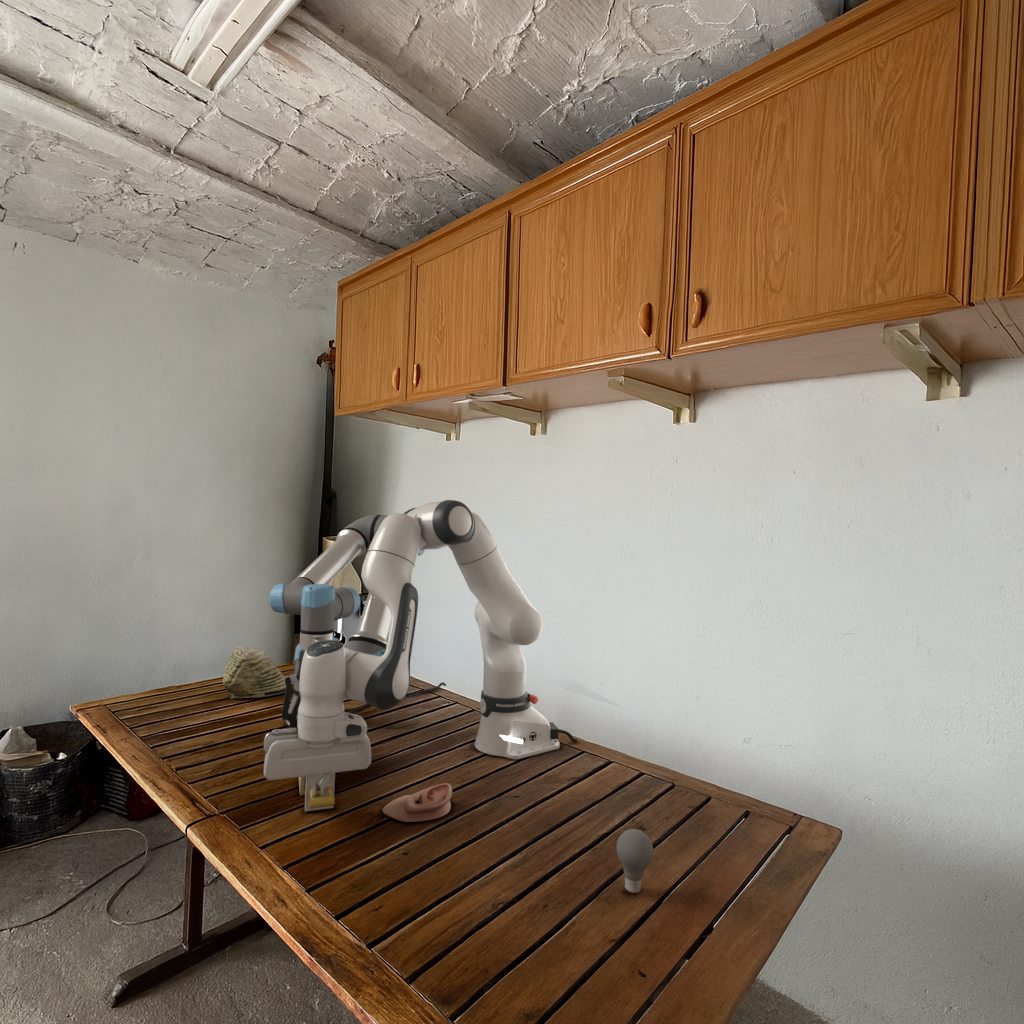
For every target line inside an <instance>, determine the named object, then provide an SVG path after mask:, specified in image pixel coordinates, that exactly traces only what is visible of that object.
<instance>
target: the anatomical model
mask: <svg viewBox="0 0 1024 1024" xmlns="http://www.w3.org/2000/svg"><path fill="white" fill-rule="evenodd" d="M452 795H453V788H452V785H451V784H450V783H447V782H445V783H444V782H443V783H440V784H436V785H433V786H429V787H426V788H424V789H422V790H419V791H417V792H415V793H411V794H405V795H402V796H399V797H397V798H395V799H393V800H391V801H390V802H388V803H387V804H386V805H384V806H383V808H382V813H383V814H384V815H386V816H387V817H389V818H392V819H394V820H396V821H400V822H402V823H415V822H425V821H430V820H431V821H432V820H436V819H438V818H442V817H444V816H445V815H447V814H448V813H449V812H450V811H451V808H452V803H451V799H452Z"/></svg>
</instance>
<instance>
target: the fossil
mask: <svg viewBox="0 0 1024 1024" xmlns="http://www.w3.org/2000/svg"><path fill="white" fill-rule="evenodd" d="M222 676H223V677H222V685H223V687H224V688H225V690H226V691H228V693H229V698H230V699H250V698H264V697H271V696H275V695H281V694H284V693H285V691H286V683H285V676H284V674H283V673H282V672H281V669H279V668H278V667H277V665H276V663H275V662H274V660H273V659H272V658H271V657H270V656H269V655H268V654H267V653H266V652H265V650H264V649H263V648H260V647H258V648H251V647H247V646H246V647H245V646H238V647H237V648H236V649H235V650H233V651H232V653H231V656H230V657H229V659H228V660H227V663H226V666H225V668H224V671H223V675H222Z"/></svg>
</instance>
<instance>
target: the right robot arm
mask: <svg viewBox="0 0 1024 1024" xmlns="http://www.w3.org/2000/svg"><path fill="white" fill-rule="evenodd" d="M446 547H448V548H449V549H450V550H451V552H452V555H453V557H454V559H455V562H456V564H457V566H458V568H459V570H460V572H461V575H462V576H463V579H464V581H465V583H466V585H467V587H468V589H469V591H470V593H472V595H474V597H475V598H476V600H477V602H476V604H475V607H474V618H475V621H476V623H477V626H478V630H479V637H480V643H481V650H482V657H483V676H482V677H483V679H482V680H483V681H482V682H483V683H482V690H481V692H480V701H479V702H480V703H479V709H480V719H479V725H478V730H477V734H476V738H475V741H474V743H473V744H474V748H475V749H476V750H477V751H480V752H481V753H483V754H487V755H490V756H495V757H504V758H507V759H510V760H520V759H525V758H527V757H532V756H536V755H540V754H544V753H547V752H551V751H555V750H558V749H560V747H561V745H560V741H559V734H562V735H565V736H566V737H568V738H569V740H570V741H571V742H573V743H577V742H578V739H577V738H575V737H573V735H572V733H570V732H569V731H566V730H564V729H560V728H558V726H557V725H556V724H555V723H554V722H553V721H552V722H551V721H549V720H548V719H547V718H546V717H545V716H544V715H543V714H542V713H541V712H539V711H538V710H537V709H536V708H535V707H534V706H532V705H531V704H533V705H537V703H538V702H539V697H538V696H537V695H535V694H531V693H530V692H528V691H526V679H527V661H526V659H525V657H524V655H523V652H522V651H523V650H522V648H521V647H522V646H529V645H532V644H534V643H535V642H536V641H538V639H539V637H540V636H541V634H542V631H543V628H544V624H543V618H542V615H541V613H540V612H539V611H538V610H537V609H536V608H535V607H534V605H532V604H531V602H530V601H529V599H528V597H527V596H526V593H524V591H523V590H522V588H521V587H520V585H519V584H518V582H517V581H516V579H515V578H514V577H513V575H512V573H511V571H510V570H509V568H508V566H507V564H506V562H505V560H504V558H503V556H502V554H501V551H500V549H499V547H498V545H497V543H496V541H495V539H494V536H493V535H492V533H491V531H490V530H489V528H488V527H487V525H486V523H485V522H484V521H483V519H482V518H481V517H480V516H479V514H477V513H475V512H472V510H470V508H469V507H468V506H467V505H466V504H465V503H463V502H462V501H460V500H455V499H446V500H441V501H432V502H428V503H425V504H423V505H420V506H417V507H412V508H409V509H408V510H407V511H405V512H404V513H399V512H397V513H396V512H395V513H391V514H388V516H387V517H386V518H385V519H384V520H383V521H382V523H381V525H380V526H379V528H378V530H377V532H376V534H375V536H374V538H373V540H372V542H371V544H370V547H369V549H368V552H366V555H365V558H364V559H363V563H362V568H361V575H360V577H361V580H362V583H363V585H364V587H365V588H366V590H367V591H368V593H369V592H370V593H371V594H372V595H373V596H375V597H376V598H378V599H379V600H381V601H382V602H384V603H385V604H386V605H387V606H388V607H389V609H390V612H391V623H390V629H389V633H388V637H387V646H386V651H385V653H384V654H383V655H382V656H376V655H370V654H366V653H362V652H357V651H353V650H350V649H348V648H346V647H344V646H345V645H344V643H343V642H341V641H340V640H339V641H335V640H326V641H319V642H316V643H314V644H312V645H310V646H309V647H308V648H307V649H306V651H305V653H304V656H303V660H302V664H301V671H300V682H299V692H300V696H301V701H300V705H299V708H298V719H297V727H294V728H288V727H286V728H281V729H280V728H275V729H273V730H272V731H270V732H268V733H267V734H266V735H265V736H264V738H263V747H262V749H263V751H264V752H265V756H264V762H263V776H264V778H265V779H266V780H267V781H278V780H286V779H294V778H299V777H303V776H306V777H307V781H308V782H309V784H310V786H311V787H312V789H311V794H312V797H315V796H323V787H325V785H326V783H327V782H328V780H329V779H330V773H335V774H336V773H345V772H351V771H361V770H367V769H368V768H369V767H370V765H371V764H372V746H371V741H370V738H369V736H368V735H367V733H368V725H367V723H366V721H365V719H364V718H363V717H362V716H361V715H359V714H355V713H352V712H348V711H345V712H344V710H345V709H346V707H345V700H351V701H354V702H359V703H364V704H366V703H368V704H369V705H368V706H372V707H375V708H377V709H381V710H385V711H386V710H389V709H391V708H394V707H395V706H397V705H398V704H400V703H401V702H402V701H403V700H404V699H405V698H406V697H407V696H406V694H407V693H409V689H410V684H411V659H412V652H413V646H414V639H415V631H416V625H417V618H418V609H419V593H418V590H417V588H416V587H415V586H414V583H413V582H414V580H413V575H414V570H415V567H416V563H417V560H418V557H419V556H418V553H419V552H420V550H424V549H425V550H439V549H442V548H446ZM343 701H344V703H343ZM296 733H297V734H296ZM320 774H321V775H322V779H321V781H320V783H319V784H315V783H314V782H313V780H315V775H320Z"/></svg>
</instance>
